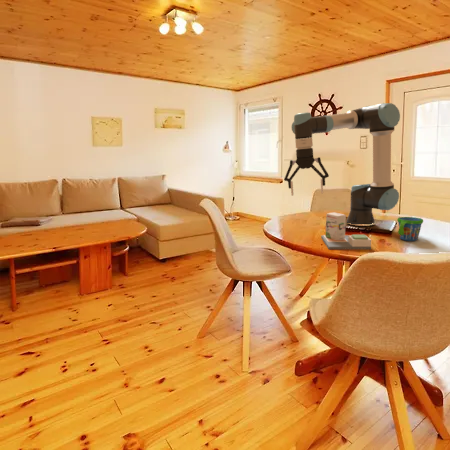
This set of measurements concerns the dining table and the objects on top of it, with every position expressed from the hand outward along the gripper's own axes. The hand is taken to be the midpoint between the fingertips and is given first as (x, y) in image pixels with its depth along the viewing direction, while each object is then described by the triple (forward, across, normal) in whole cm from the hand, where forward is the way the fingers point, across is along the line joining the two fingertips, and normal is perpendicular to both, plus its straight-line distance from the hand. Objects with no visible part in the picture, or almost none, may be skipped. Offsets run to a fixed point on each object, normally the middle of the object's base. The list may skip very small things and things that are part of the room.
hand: (307, 194), depth 168 cm
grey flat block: (+24, +16, -3) cm, 29 cm away
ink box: (+22, +12, +1) cm, 25 cm away
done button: (+22, +22, -8) cm, 32 cm away
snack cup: (+27, +45, +8) cm, 53 cm away
